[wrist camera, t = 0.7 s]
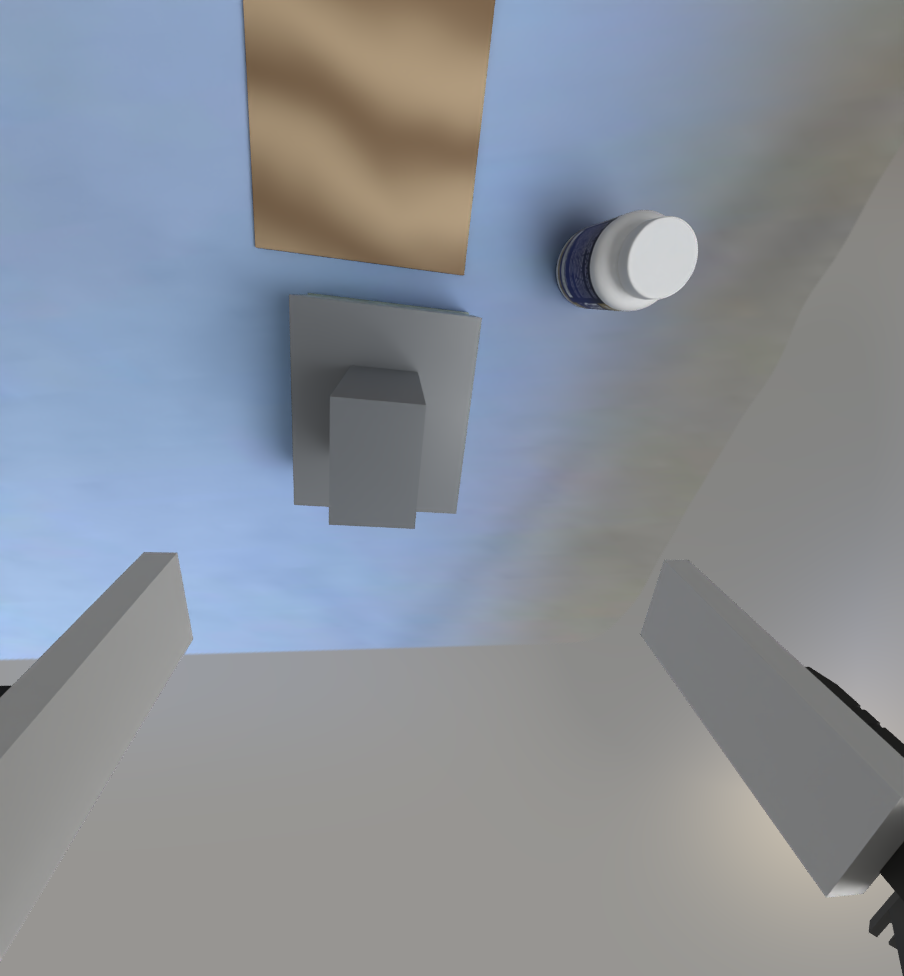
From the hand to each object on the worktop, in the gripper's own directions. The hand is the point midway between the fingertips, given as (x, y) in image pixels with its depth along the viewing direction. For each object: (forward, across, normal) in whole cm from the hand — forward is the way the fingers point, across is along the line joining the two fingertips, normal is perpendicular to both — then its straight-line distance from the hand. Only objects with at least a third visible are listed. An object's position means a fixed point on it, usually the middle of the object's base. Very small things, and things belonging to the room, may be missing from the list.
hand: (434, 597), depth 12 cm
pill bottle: (+25, +12, +10) cm, 30 cm away
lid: (+19, -2, 0) cm, 19 cm away
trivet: (+25, -4, +17) cm, 30 cm away
